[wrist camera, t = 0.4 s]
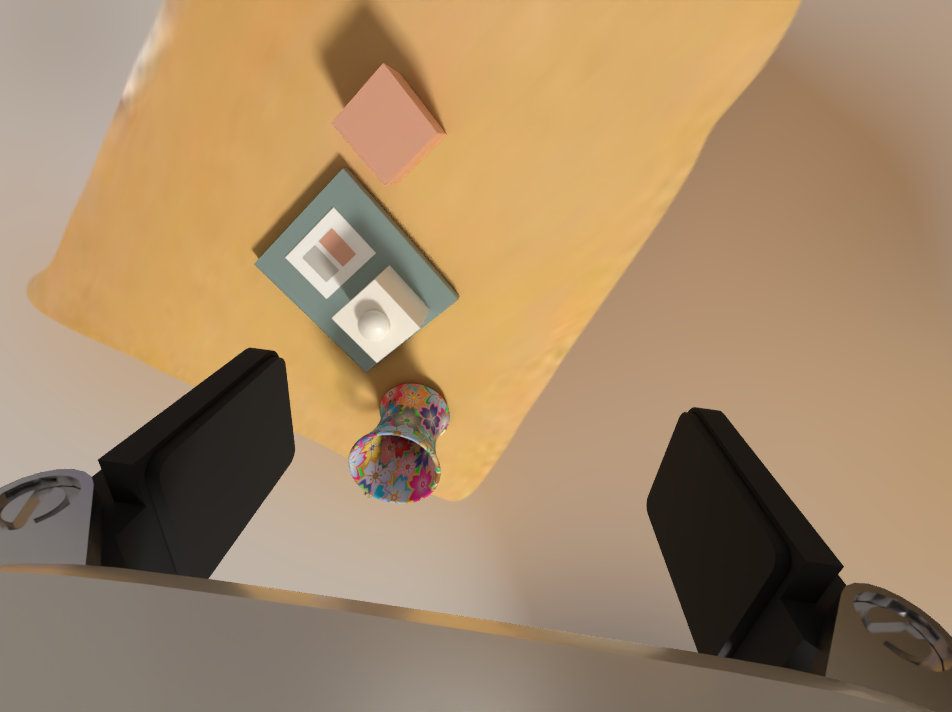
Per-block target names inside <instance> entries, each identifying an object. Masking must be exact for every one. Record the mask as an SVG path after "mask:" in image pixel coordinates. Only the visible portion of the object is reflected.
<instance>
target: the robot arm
mask: <svg viewBox="0 0 952 712" xmlns="http://www.w3.org/2000/svg"><path fill="white" fill-rule="evenodd" d="M294 453H295V444H294V435H293V426H292V417H291V409H290V400H289V391H288V382H287V373H286V365H285V361H284V359H282V358H279V356H278V354H277V353H276V352H275V351H271V350H264V349H256V348H248V349H246V350H244V351H243V352H242V353H240V354H239V355H238V356H236V357H235V358H234V359H232V360H231V361H230V362H228V363H227V364H226V365H224V366H223V367H222V368H220V369H219V370H218V371H216V372H215V373H214V374H212V375H211V376H209V377H208V378H207V379H205V380H204V381H203V382H201V383H200V384H199V385H197V386H196V387H195V388H193V389H192V390H191V391H190V392H188V393H187V394H185V395H184V396H183V397H181V398H180V399H179V400H177V401H176V402H175V403H173V404H172V405H171V406H169V407H168V408H167V409H165V410H164V411H163V412H162V413H160V414H159V415H157V416H156V417H155V418H153V419H152V420H151V421H149V422H148V423H147V424H145V425H144V426H143V427H141V428H140V429H138V430H137V431H136V432H135V433H133V434H132V435H130V436H129V437H128V438H127V439H125V440H124V441H123V442H121V443H120V444H118V445H117V446H116V447H114V448H113V449H112V450H110V451H109V452H108V453H106V454H105V455H104V456H102V457H101V458H100V459H98V461H99V464H100V466H101V470H100V471H99V472H98V473H96V474H95V475H94V476H93V477H91V476H90V475H88V474H87V473H86V472H84V471H79V470H75V469H57V470H52V471H46V472H40V473H37V474H34V475H31V476H28V477H24V478H21V479H19V480H16V481H15V482H12V483H10V484H7V485H5V486H3V487H1V488H0V712H952V637H951V636H950V635H949V634H948V632H946V630H945V629H944V628H943V627H942V626H941V625H940V624H939V623H938V622H936V621H935V620H934V619H933V618H931V617H930V616H929V615H928V614H926V613H925V612H924V611H923V610H921V609H920V608H918V607H917V606H915V605H914V604H912V603H910V602H909V601H907V600H906V599H904V598H903V597H901V596H899V595H896V594H894V593H892V592H890V591H888V590H886V589H884V588H881V587H877V586H874V585H871V584H865V583H853V584H850V585H847V586H846V584H845V583H844V582H843V580H842V579H841V578H840V577H839V575H838V574H839V572H840V571H841V570H842V568H843V567H844V566H843V565H842V564H841V562H840V561H839V560H838V559H837V557H836V556H835V555H834V553H833V552H832V551H831V550H830V548H829V547H828V546H827V544H826V543H825V542H824V541H823V539H822V538H821V537H820V536H819V534H818V533H817V532H816V531H815V529H814V528H813V527H812V525H811V524H810V523H809V522H808V520H807V519H806V518H805V516H804V515H803V514H802V513H801V511H800V510H799V509H798V508H797V506H796V505H795V504H794V502H793V501H792V500H791V499H790V498H789V496H788V495H787V494H786V492H785V491H784V490H783V489H782V487H781V486H780V485H779V483H778V482H777V481H776V480H775V478H774V477H773V476H772V475H771V473H770V472H769V471H768V469H767V468H766V467H765V466H764V464H763V463H762V462H761V461H760V459H759V458H758V457H757V455H756V454H755V453H754V452H753V450H752V449H751V448H750V447H749V445H748V444H747V443H746V442H745V440H744V439H743V438H742V437H741V435H740V434H739V433H738V431H737V430H736V429H735V428H734V426H733V425H732V424H731V422H730V421H729V420H728V419H727V417H726V416H725V415H724V414H723V413H722V412H721V411H718V410H711V409H703V408H696V407H694V408H691V409H690V410H689V411H688V413H687V412H684V413H682V414H681V416H680V417H679V419H678V422H677V425H676V427H675V430H674V432H673V435H672V438H671V440H670V442H669V445H668V447H667V450H666V452H665V455H664V457H663V460H662V462H661V465H660V468H659V470H658V473H657V475H656V478H655V480H654V483H653V485H652V488H651V490H650V493H649V495H648V498H647V512H648V516H649V518H650V521H651V524H652V526H653V530H654V532H655V535H656V538H657V541H658V543H659V546H660V549H661V552H662V554H663V557H664V560H665V563H666V565H667V568H668V571H669V573H670V576H671V579H672V582H673V585H674V587H675V590H676V593H677V596H678V598H679V601H680V604H681V607H682V609H683V612H684V615H685V618H686V620H687V623H688V626H689V629H690V631H691V634H692V637H693V640H694V642H695V645H696V648H697V650H698V653H696V652H690V651H685V650H678V649H671V648H665V647H659V646H652V645H646V644H639V643H633V642H627V641H620V640H614V639H608V638H601V637H594V636H588V635H582V634H575V633H569V632H563V631H556V630H549V629H543V628H537V627H530V626H523V625H517V624H511V623H503V622H497V621H491V620H484V619H477V618H470V617H464V616H458V615H451V614H444V613H437V612H431V611H424V610H417V609H411V608H404V607H397V606H390V605H384V604H377V603H371V602H364V601H357V600H350V599H343V598H336V597H329V596H323V595H316V594H309V593H302V592H295V591H288V590H281V589H274V588H266V587H260V586H253V585H246V584H239V583H232V582H225V581H219V580H212V579H209V577H210V576H211V574H212V573H213V572H214V570H215V569H216V567H217V566H218V564H219V563H220V562H221V560H222V559H223V557H224V556H225V555H226V553H227V552H228V551H229V549H230V548H231V546H232V545H233V544H234V542H235V541H236V539H237V538H238V536H239V535H240V534H241V532H242V531H243V529H244V528H245V527H246V525H247V524H248V522H249V521H250V520H251V518H252V517H253V515H254V514H255V513H256V511H257V510H258V508H259V507H260V506H261V504H262V503H263V501H264V500H265V499H266V497H267V496H268V494H269V493H270V492H271V490H272V489H273V487H274V486H275V485H276V483H277V482H278V480H279V479H280V477H281V476H282V475H283V473H284V472H285V471H286V469H287V468H288V466H289V465H290V463H291V462H292V459H293V457H294Z"/></svg>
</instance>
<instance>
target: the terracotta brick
mask: <svg viewBox="0 0 952 712" xmlns="http://www.w3.org/2000/svg"><path fill="white" fill-rule="evenodd" d="M332 124H333V126H334V127H335V128H336V129H337V130H338V131H339V133H340V134H341V135H342V136H343V137H344V138H345V140H346V141H347V142H348V143H349V144H350V145H351V147H352V148H353V149H354V150H355V151H356V152H357V154H358V155H359V156H360V157H361V158H362V160H363V161H364V162H365V163H366V164H367V165H368V167H369V168H370V169H371V170H372V171H373V172H374V174H375V175H376V176H377V177H378V178H379V179H380V181H381V182H382V183H383V184H384V185H385V186H386V185H389V184H392V183H395V182H398V181H400V180H401V179H402V178H403V177H404V176H405V175H406V174H407V173H408V172H409V171H410V170H411V169H412V168H413V167H414V166H415V165H416V164H417V163H418V162H419V161H420V160H421V159H422V158H423V157H425V156H426V155H427V154H428V153H429V152H430V151H431V150H432V149H433V148H434V147H435V146H436V145H437V144H438V143H439V142H440V141H441V140H442V139H443V138H444V137H445V136H446V135H447V134H446V133H445V131H444V130H443V129H442V128H441V126H440V125H439V124H438V122H437V121H436V120H435V118H434V117H433V116H432V114H431V113H430V112H429V111H428V109H427V108H426V107H425V105H424V104H423V103H422V101H421V100H420V99H419V98H418V96H417V95H416V94H415V92H414V91H413V90H412V88H411V87H410V86H409V84H408V83H407V82H406V81H405V79H404V78H403V77H402V75H401V74H400V73H399V72H397V71H395V70H394V69H392V68H391V67H389V66H387V65H386V64H384V63H383V64H382V65H381V66H380V67H379V68H378V70H377V71H376V72H375V73H374V74H373V75H372V76H371V78H370V79H369V80H368V81H367V82H366V83H365V85H364V86H363V87H362V88H361V89H360V90H359V91H358V93H357V94H356V95H355V96H354V97H353V98H352V100H351V101H350V102H349V103H348V104H347V105H346V106H345V108H344V109H343V110H342V111H341V112H340V113H339V115H338V116H337V117H336V118H335V119H334V120H333V121H332Z"/></svg>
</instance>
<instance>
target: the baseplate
mask: <svg viewBox="0 0 952 712" xmlns="http://www.w3.org/2000/svg"><path fill="white" fill-rule="evenodd" d="M254 265H255V266H256V267H257V268H259V269H260V270H261V271H262V272H263V273H264V274H265V275H266V276H267V277H268V278H269V279H270V280H271V281H272V282H273V283H274V284H275V285H276V286H277V287H278V288H279V289H280V290H281V291H282V292H283V293H284V294H285V295H286V296H288V297H289V298H290V299H291V300H292V301H293V302H294V303H295V304H296V305H297V306H298V307H299V308H300V309H301V310H302V311H303V312H304V313H305V314H306V315H307V316H308V317H309V318H310V319H311V320H312V321H313V322H314V323H316V324H317V325H318V326H319V327H320V328H321V329H322V330H323V331H324V332H325V333H326V334H327V335H328V336H329V337H330V338H331V339H332V340H333V341H334V342H335V343H336V344H337V345H338V346H339V347H340V348H341V349H342V350H343V351H345V352H346V353H347V354H348V355H349V356H350V357H351V358H352V359H353V360H354V361H355V362H356V363H357V364H358V365H359V366H360V367H361V368H362V369H363V370H364V371H365V372H367V371H369V370H370V369H371V368H372V367H374V366H375V365H376V364H377V363H379V362H380V361H381V360H382V359H384V358H385V357H386V356H387V355H389V354H390V353H391V352H393V351H394V350H395V349H396V348H398V347H399V346H400V345H401V344H403V343H404V342H405V341H406V340H408V339H409V338H410V337H411V336H413V335H414V334H415V333H416V332H418V331H419V330H420V329H422V328H423V327H424V326H425V325H427V324H428V323H429V322H430V321H432V320H433V319H434V318H435V317H437V316H438V315H439V314H440V313H442V312H443V311H444V310H445V309H447V308H448V307H449V306H451V305H452V304H453V303H454V302H456V301H457V300H458V298H459V295H458V294H457V293H456V292H455V290H454V289H453V288H452V287H451V286H450V285H449V284H448V282H447V281H446V280H445V279H444V278H443V277H442V276H441V274H440V273H439V272H438V271H437V270H436V269H435V267H434V266H433V265H432V264H431V263H430V262H429V261H428V259H427V258H426V257H425V256H424V255H423V254H422V253H421V251H420V250H419V249H418V248H417V247H416V246H415V245H414V243H413V242H412V241H411V240H410V239H409V238H408V237H407V235H406V234H405V233H404V232H403V231H402V230H401V229H400V227H399V226H398V225H397V224H396V223H395V222H394V220H393V219H392V218H391V217H390V216H389V215H388V214H387V212H386V211H385V210H384V209H383V208H382V207H381V206H380V204H379V203H378V202H377V201H376V200H375V199H374V198H373V196H372V195H371V194H370V193H369V192H368V191H367V190H366V188H365V187H364V186H363V185H362V184H361V183H360V182H359V180H358V179H357V178H356V177H355V176H354V175H353V173H352V172H351V171H350V170H349V169H348V168H343V169H342V170H341V171H340V172H339V173H338V174H337V175H336V176H335V177H334V178H333V179H332V181H331V182H330V183H329V184H328V185H327V186H326V187H325V188H324V189H323V190H322V191H321V192H320V193H319V195H318V196H317V197H316V198H315V199H314V200H313V201H312V202H311V203H310V204H309V205H308V206H307V207H306V209H305V210H304V211H303V212H302V213H301V214H300V215H299V216H298V217H297V218H296V219H295V220H294V222H293V223H292V224H291V225H290V226H289V227H288V228H287V229H286V230H285V231H284V232H283V233H282V234H281V236H280V237H279V238H278V239H277V240H276V241H275V242H274V243H273V244H272V245H271V246H270V247H269V248H268V250H267V251H266V252H265V253H264V254H263V255H262V256H261V257H260V258H259V259H258V260H257V261H256V262H255V264H254Z"/></svg>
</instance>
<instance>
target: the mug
mask: <svg viewBox="0 0 952 712" xmlns="http://www.w3.org/2000/svg"><path fill="white" fill-rule="evenodd" d="M380 417H381V420H380V422H379V424H378V426H377V427H376V428H375V429H374V430H373V431H372V432H370V433H369V434H367V435H365V436H363V437H362V438H360V439H359V440H358V441H357V442H356V443H355V444H354V446H353V447H352V449H351V451H350V454H349V469H350V472H351V475H352V477H353V478H354V480H355V482H356V483H357V484H358V485H359V486H360V487H361V488H362V489H363V490H364V491H365V495H366V496H367V497H372V496H373V497H375V498H377V499H380V500H383V501H386V502H390V503H397V504H406V503H413V502H417V501H420V500H422V499H424V498H425V497H427V496H429V495H430V494H431V493H432V492H433V491H434V490H435V489H436V487H437V485H438V483H439V480H440V475H441V469H440V464H439V461H438V458H437V456H436V451H435V446H436V441H437V439H438V438H439V437H440V436H441V435H442V434H443V433H444V432H445V431H446V429H447V427H448V425H449V420H450V414H449V409H448V406H447V404H446V402H445V401H444V399H443V398H442V397H441V396H440V395H439V394H438V393H437V392H436V391H434V390H433V389H431V388H429V387H426V386H424V385H420V384H412V383H409V384H402V385H399V386H396V387H394V388H392V389H391V390H389V391H388V392H387V393H386V394H385V396H384V397H383V399H382V401H381V404H380Z"/></svg>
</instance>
